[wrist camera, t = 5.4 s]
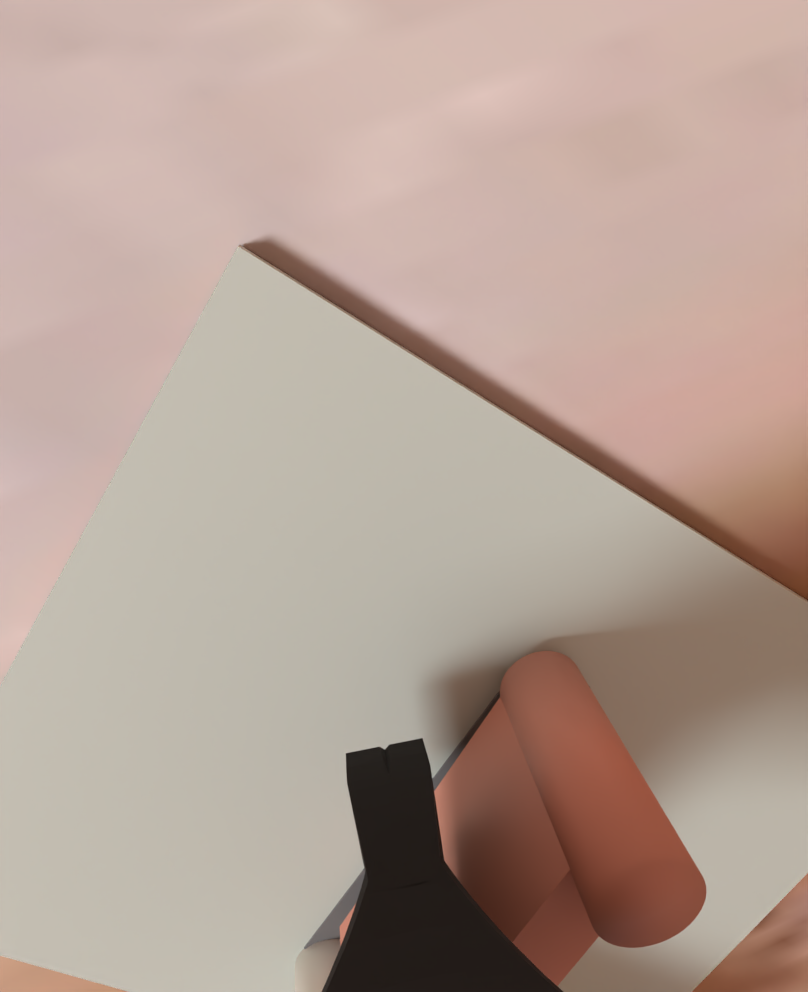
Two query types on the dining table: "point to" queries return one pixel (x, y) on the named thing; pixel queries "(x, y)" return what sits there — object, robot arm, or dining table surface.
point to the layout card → (361, 659)
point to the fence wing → (561, 825)
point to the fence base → (315, 965)
